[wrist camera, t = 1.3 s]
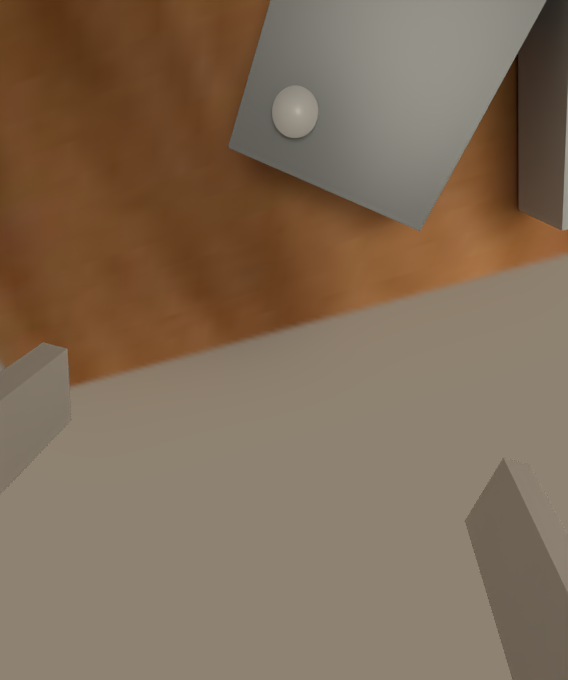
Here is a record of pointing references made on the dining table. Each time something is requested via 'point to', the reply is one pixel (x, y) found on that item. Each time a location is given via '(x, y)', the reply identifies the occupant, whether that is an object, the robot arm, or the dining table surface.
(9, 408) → the robot arm
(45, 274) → the dining table surface
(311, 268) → the dining table surface
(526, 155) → the side door
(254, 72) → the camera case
